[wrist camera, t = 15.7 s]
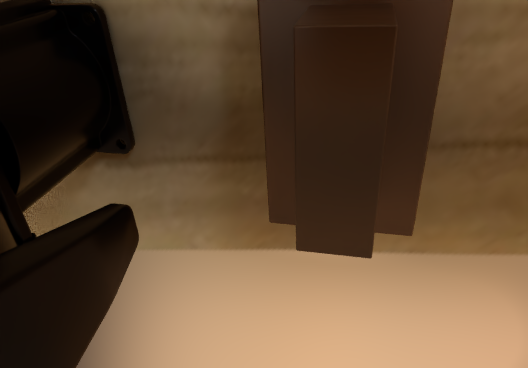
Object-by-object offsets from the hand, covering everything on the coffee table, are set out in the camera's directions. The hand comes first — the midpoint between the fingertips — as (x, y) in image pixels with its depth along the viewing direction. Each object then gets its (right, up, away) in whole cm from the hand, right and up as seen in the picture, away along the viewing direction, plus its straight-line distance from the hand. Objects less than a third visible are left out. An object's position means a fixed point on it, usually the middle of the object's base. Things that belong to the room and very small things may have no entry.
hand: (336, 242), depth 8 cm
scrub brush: (+2, +5, +8) cm, 9 cm away
